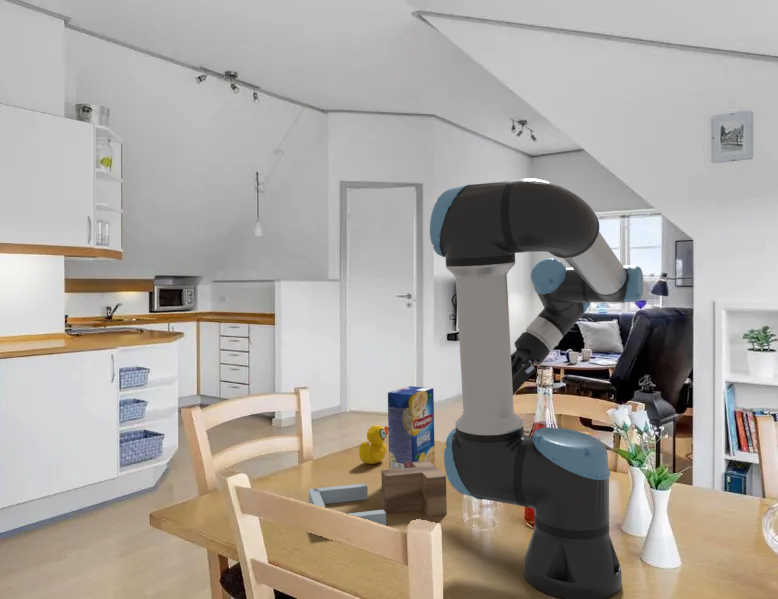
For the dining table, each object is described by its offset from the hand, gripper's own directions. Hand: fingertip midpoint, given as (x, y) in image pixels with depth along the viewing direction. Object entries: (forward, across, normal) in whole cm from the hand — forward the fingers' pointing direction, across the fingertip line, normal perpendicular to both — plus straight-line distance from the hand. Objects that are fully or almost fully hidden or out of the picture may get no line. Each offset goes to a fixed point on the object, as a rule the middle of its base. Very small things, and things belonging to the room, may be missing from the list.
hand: (471, 418), depth 134 cm
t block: (+23, 0, -3) cm, 23 cm away
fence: (+33, 0, +7) cm, 34 cm away
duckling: (+23, +35, -3) cm, 42 cm away
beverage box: (+19, +19, -7) cm, 28 cm away
